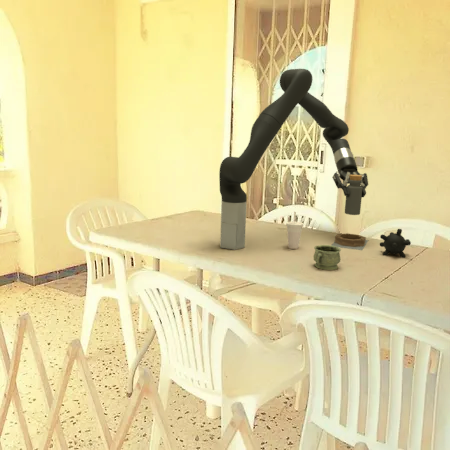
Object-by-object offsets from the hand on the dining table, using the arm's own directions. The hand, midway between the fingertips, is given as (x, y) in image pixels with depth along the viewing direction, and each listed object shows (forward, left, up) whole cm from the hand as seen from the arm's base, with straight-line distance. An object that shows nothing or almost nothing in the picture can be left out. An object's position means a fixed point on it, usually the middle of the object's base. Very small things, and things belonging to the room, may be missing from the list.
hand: (356, 195), depth 181 cm
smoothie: (-17, +19, -20) cm, 32 cm away
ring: (+1, +1, -19) cm, 19 cm away
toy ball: (-9, -16, -20) cm, 27 cm away
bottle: (+1, +1, -7) cm, 8 cm away
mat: (+1, +1, -19) cm, 20 cm away
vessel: (-34, +3, -20) cm, 39 cm away
